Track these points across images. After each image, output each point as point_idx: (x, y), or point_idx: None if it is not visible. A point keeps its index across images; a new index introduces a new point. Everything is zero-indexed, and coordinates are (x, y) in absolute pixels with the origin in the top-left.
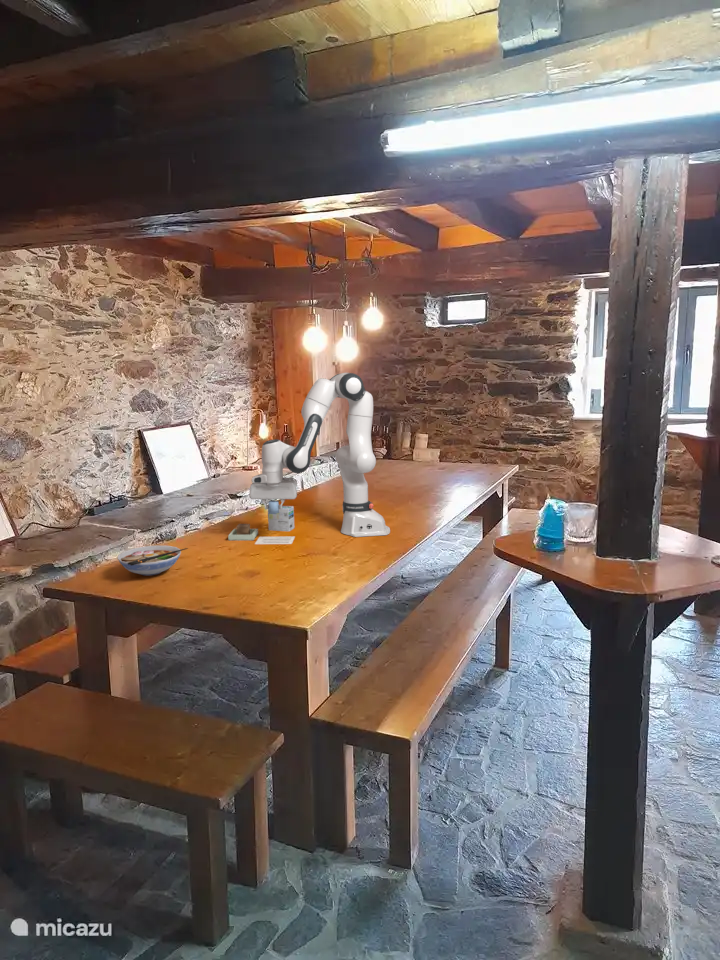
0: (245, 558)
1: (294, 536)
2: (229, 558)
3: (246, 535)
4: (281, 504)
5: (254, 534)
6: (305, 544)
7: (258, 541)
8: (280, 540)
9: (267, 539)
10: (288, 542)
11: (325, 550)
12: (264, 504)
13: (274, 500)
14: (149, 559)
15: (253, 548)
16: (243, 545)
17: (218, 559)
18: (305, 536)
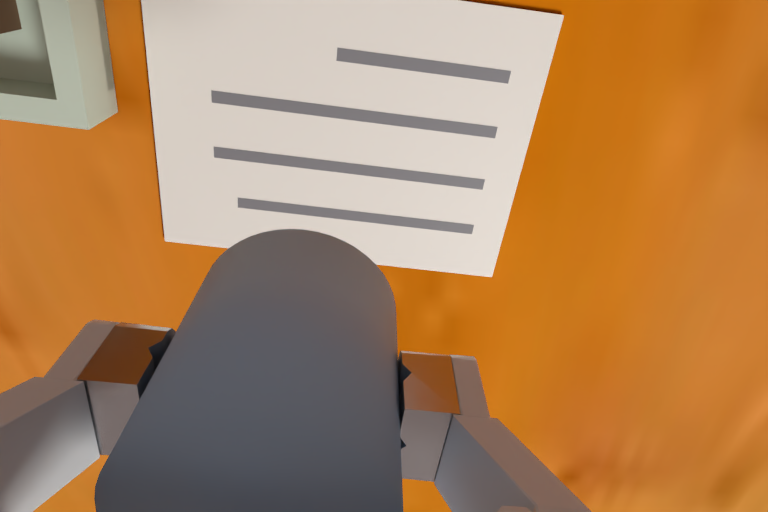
0: None
1: (555, 16)
2: (94, 485)
3: (9, 119)
4: (467, 508)
5: (82, 54)
6: (604, 291)
7: (180, 162)
8: (395, 158)
9: (258, 103)
10: (468, 232)
11: (701, 429)
12: (39, 477)
13: (261, 434)
14: None
15: None
16: (75, 250)
17: None
18: (681, 15)
